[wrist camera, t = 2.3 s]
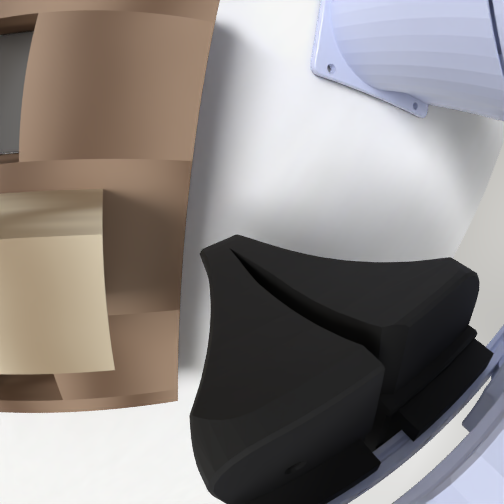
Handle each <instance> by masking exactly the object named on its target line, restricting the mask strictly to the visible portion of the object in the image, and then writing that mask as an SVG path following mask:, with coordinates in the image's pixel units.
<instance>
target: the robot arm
mask: <svg viewBox="0 0 504 504" xmlns="http://www.w3.org/2000/svg"><path fill="white" fill-rule="evenodd" d="M328 65H329V66H330V68H331V71H330V73H329V72H328V70H327V67H328ZM311 70H312V71H313V73H314V74H316V75H317V76H320V77H323V78H326V79H329V80H332V81H335V82H338V83H340V84H343V85H346V86H349V87H351V88H354V89H356V90H359V91H361V92H364V93H366V94H369V95H371V96H374V97H376V98H378V99H381V100H383V101H385V102H388V103H390V104H392V105H394V106H397V107H399V108H401V109H403V110H405V111H407V112H409V113H411V114H414V115H416V116H418V117H421V118H424V117H425V116H426V115H427V111H428V105H434V106H439V107H445V108H450V109H455V110H459V111H464V112H468V113H473V114H477V115H481V116H485V117H489V118H493V119H496V120H502V121H504V0H321V2H320V8H319V15H318V21H317V27H316V34H315V40H314V46H313V52H312V58H311ZM200 256H201V259H202V262H203V264H204V267H205V270H206V272H207V275H208V278H209V284H210V298H211V320H210V333H209V342H208V349H207V355H206V359H205V364H204V368H203V373H202V378H201V381H200V385H199V388H198V391H197V395H196V398H195V401H194V404H193V407H192V410H191V413H190V429H191V439H192V447H193V452H194V457H195V460H196V464H197V467H198V470H199V472H200V475H201V477H202V479H203V481H204V483H205V485H206V487H207V490H208V491H209V492H210V493H211V495H213V496H214V497H216V498H218V499H219V500H221V501H223V502H224V503H226V504H348V503H349V502H351V501H352V500H354V499H355V498H357V497H358V496H360V495H361V494H363V493H364V492H366V491H367V490H369V489H370V488H372V487H373V486H374V485H376V484H377V483H379V482H380V481H381V480H383V479H384V478H385V477H387V476H388V475H389V474H391V473H392V472H393V471H395V470H396V469H397V468H398V467H400V466H401V465H402V464H403V463H405V462H406V461H407V460H408V459H409V458H411V457H412V456H413V455H414V454H415V453H417V452H418V451H419V450H420V449H421V448H422V447H423V446H425V444H427V443H428V442H429V441H430V440H431V439H432V438H433V437H434V436H435V435H436V434H438V433H439V432H440V431H441V430H442V429H443V428H444V427H445V426H446V425H447V424H448V423H449V422H450V421H451V420H452V419H453V418H454V417H455V416H456V415H457V414H458V413H459V412H460V410H461V409H462V408H463V407H464V406H465V405H466V404H467V403H468V402H469V401H470V400H471V399H472V397H473V396H474V395H475V394H476V393H477V392H478V391H479V389H480V388H481V387H482V386H483V385H484V384H485V382H486V381H487V380H488V379H489V377H490V376H491V379H492V380H491V381H490V383H489V384H488V386H487V387H486V388H485V389H484V391H483V393H482V395H481V397H480V398H479V400H478V401H477V403H476V404H475V406H474V407H473V409H472V410H471V412H470V413H469V414H468V415H467V417H466V418H465V419H464V420H463V422H462V425H463V426H464V427H465V428H466V429H467V430H468V431H469V432H470V433H469V434H468V435H467V436H466V437H465V438H464V439H463V440H462V441H461V442H460V444H459V445H458V446H457V447H456V448H455V449H454V450H453V451H452V452H451V453H450V454H449V455H448V456H447V457H446V458H445V459H444V460H443V461H442V462H440V463H439V464H438V465H437V466H436V467H435V468H434V469H433V470H432V471H431V472H430V473H428V474H427V475H426V476H425V477H424V478H423V479H422V480H421V481H420V482H418V483H417V484H416V485H415V486H414V487H412V488H411V489H410V490H409V491H407V492H406V493H405V494H404V495H402V496H401V497H400V498H399V499H397V500H396V501H395V502H393V503H392V504H504V325H503V326H502V327H501V329H500V330H499V331H498V333H497V334H496V335H495V336H494V338H493V339H492V340H491V341H490V342H489V344H488V345H487V346H486V347H485V346H484V345H482V344H481V343H480V342H479V341H477V340H476V339H475V337H476V335H477V332H476V330H475V329H473V328H472V327H471V326H469V325H468V324H469V321H470V319H471V316H472V313H473V309H474V307H475V303H476V300H477V296H478V292H479V278H478V275H477V273H475V272H474V271H472V270H471V269H469V268H467V267H466V266H464V265H462V264H461V263H459V262H458V261H456V260H454V259H453V258H450V257H448V258H440V259H432V260H423V261H413V262H358V261H345V260H337V259H330V258H323V257H317V256H312V255H307V254H303V253H298V252H294V251H290V250H286V249H283V248H279V247H276V246H272V245H269V244H266V243H263V242H260V241H256V240H253V239H250V238H247V237H244V236H240V235H234V236H232V237H230V238H227V239H225V240H223V241H220V242H218V243H216V244H214V245H211V246H209V247H207V248H205V249H202V251H201V253H200Z"/></svg>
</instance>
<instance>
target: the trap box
mask: <svg viewBox="0 0 504 504" xmlns="http://www.w3.org/2000/svg"><path fill="white" fill-rule="evenodd" d="M219 1H220V0H0V153H5V152H17V151H19V153H12V154H1V155H0V194H3V193H18V192H34V191H54V190H82V189H103V258H104V276H105V290H106V302H107V313H108V323H109V331H110V340H111V347H112V354H113V361H114V367H115V370H109V371H97V372H81V373H61V374H0V412H15V413H54V412H79V411H95V410H107V409H118V408H128V407H137V406H145V405H152V404H160V403H166V402H173V401H178V342H179V316H180V295H181V278H182V263H183V250H184V238H185V226H186V215H187V205H188V195H189V186H190V177H191V168H192V160H193V152H194V144H195V137H196V130H197V123H198V116H199V109H200V103H201V96H202V90H203V84H204V78H205V72H206V67H207V61H208V55H209V50H210V45H211V40H212V35H213V30H214V25H215V20H216V15H217V10H218V6H219ZM31 31H34V32H31ZM22 32H26V33H22ZM14 33H18V34H14ZM7 34H11V35H7ZM1 35H4V36H1Z"/></svg>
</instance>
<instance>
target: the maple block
mask: <svg viewBox="0 0 504 504" xmlns="http://www.w3.org/2000/svg"><path fill="white" fill-rule="evenodd" d="M109 370H115V367H114V361H113V354H112V347H111V340H110V331H109V323H108V313H107V302H106V290H105V276H104V258H103V189H82V190H54V191H34V192H18V193H3V194H0V374H61V373H81V372H97V371H109Z"/></svg>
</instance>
